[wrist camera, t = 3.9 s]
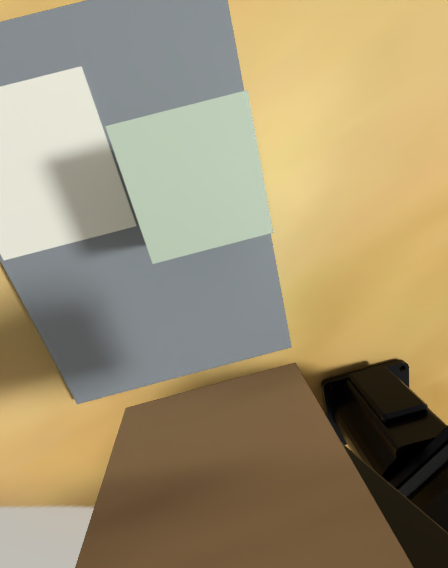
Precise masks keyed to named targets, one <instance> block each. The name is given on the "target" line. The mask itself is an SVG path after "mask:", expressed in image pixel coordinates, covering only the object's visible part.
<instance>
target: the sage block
mask: <svg viewBox="0 0 448 568" xmlns="http://www.w3.org/2000/svg"><path fill="white" fill-rule="evenodd" d="M105 127H106V130H107V133H108V136H109V139H110V141H111V144H112V147H113V150H114V153H115V156H116V159H117V162H118V165H119V168H120V171H121V173H122V176H123V179H124V182H125V185H126V188H127V191H128V194H129V197H130V200H131V203H132V206H133V208H134V211H135V214H136V217H137V220H138V223H139V226H140V229H141V232H142V235H143V238H144V241H145V243H146V246H147V249H148V252H149V255H150V258H151V261H152V264H155V263H159V262H162V261H166V260H170V259H174V258H178V257H182V256H185V255H189V254H193V253H197V252H201V251H205V250H209V249H212V248H216V247H220V246H224V245H228V244H232V243H235V242H239V241H243V240H247V239H251V238H255V237H258V236H262V235H266V234H270V233H273V228H272V223H271V217H270V212H269V206H268V201H267V195H266V190H265V184H264V179H263V173H262V168H261V162H260V157H259V151H258V146H257V140H256V135H255V129H254V123H253V118H252V112H251V107H250V101H249V96H248V90H246V91H242V92H238V93H234V94H230V95H226V96H222V97H218V98H214V99H210V100H206V101H203V102H199V103H195V104H191V105H187V106H183V107H179V108H175V109H171V110H167V111H163V112H159V113H155V114H151V115H147V116H144V117H140V118H136V119H132V120H128V121H124V122H120V123H116V124H112V125H108V126H105Z"/></svg>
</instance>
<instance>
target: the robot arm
mask: <svg viewBox="0 0 448 568" xmlns="http://www.w3.org/2000/svg"><path fill="white" fill-rule="evenodd" d="M329 385H330V386H329ZM328 386H329V387H328ZM321 388H322V395H323V401H324V408H325V414H326V417H327V419H328V420H329V422H330V424H331V426H332V427H333V429H334V431H335V433H336V434H337V436H338V438H339V439H340V441H341V443H342V445H343V446H344V448H345V450H346V452H347V453H348V455H349V457H350V459H351V460H352V462H353V464H354V465H355V467H356V469H357V471H358V472H359V474H360V476H361V478H362V479H363V481H364V483H365V484H366V486H367V488H368V490H369V491H370V493H371V495H372V497H373V498H374V500H375V502H376V504H377V505H378V507H379V509H380V510H381V512H382V514H383V516H384V517H385V519H386V521H387V523H388V524H389V526H390V528H391V530H392V531H393V533H394V535H395V536H396V538H397V540H398V542H399V543H400V545H401V547H402V549H403V550H404V552H405V554H406V556H407V557H408V559H409V561H410V562H411V564H412V566H413V568H448V426H447V425H446V424H445V423H444V422H443V421H442V420H441V419H440V418H438V417H437V416H436V415H435V414H434V413H433V412H432V411H431V410H430V409H429V408H428V406H427V404H426V403H425V402H424V401H423V400H421V399H420V398H419V397H418V396H417V395H416V394H415V393H414V392H413V391H412V390H411V389H410V388H409V366H408V364H407V363H406V362H404V361H403V360H396V361H392V362H388V363H385V364H381V365H377V366H373V367H370V368H366V369H362V370H358V371H355V372H351V373H347V374H344V375H340V376H336V377H332V378H329V379H326V380H324V381H323V382H322V384H321ZM346 444H348V446H349V448H350V449H351V450H350V449H348V448H347V447H346V446H345V445H346Z"/></svg>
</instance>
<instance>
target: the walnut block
mask: <svg viewBox="0 0 448 568" xmlns="http://www.w3.org/2000/svg"><path fill="white" fill-rule="evenodd" d="M75 568H413V566H412V564H411V562H410V561H409V559H408V557H407V556H406V554H405V552H404V550H403V549H402V547H401V545H400V543H399V542H398V540H397V538H396V536H395V535H394V533H393V531H392V530H391V528H390V526H389V524H388V523H387V521H386V519H385V517H384V516H383V514H382V512H381V510H380V509H379V507H378V505H377V504H376V502H375V500H374V498H373V497H372V495H371V493H370V491H369V490H368V488H367V486H366V484H365V483H364V481H363V479H362V478H361V476H360V474H359V472H358V471H357V469H356V467H355V465H354V464H353V462H352V460H351V459H350V457H349V455H348V453H347V452H346V450H345V448H344V446H343V445H342V443H341V441H340V439H339V438H338V436H337V434H336V433H335V431H334V429H333V427H332V426H331V424H330V422H329V420H328V419H327V417H326V415H325V413H324V412H323V410H322V408H321V407H320V405H319V403H318V401H317V400H316V398H315V396H314V394H313V393H312V391H311V389H310V387H309V386H308V384H307V382H306V381H305V379H304V377H303V375H302V374H301V372H300V370H299V368H298V367H297V365H296V363H292V364H288V365H284V366H280V367H277V368H273V369H269V370H266V371H262V372H258V373H254V374H251V375H247V376H243V377H239V378H236V379H232V380H228V381H225V382H221V383H217V384H213V385H210V386H206V387H202V388H198V389H195V390H191V391H187V392H184V393H180V394H176V395H172V396H169V397H165V398H161V399H157V400H154V401H150V402H146V403H143V404H139V405H135V406H131V407H128V408H126V409H125V412H124V415H123V419H122V422H121V425H120V428H119V431H118V434H117V438H116V441H115V444H114V447H113V450H112V453H111V456H110V460H109V463H108V466H107V469H106V472H105V475H104V479H103V482H102V485H101V488H100V491H99V494H98V497H97V501H96V504H95V507H94V510H93V513H92V517H91V520H90V523H89V526H88V530H87V532H86V535H85V539H84V542H83V545H82V548H81V551H80V554H79V557H78V561H77V564H76V567H75Z"/></svg>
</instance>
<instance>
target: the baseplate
mask: <svg viewBox="0 0 448 568" xmlns="http://www.w3.org/2000/svg"><path fill="white" fill-rule="evenodd" d="M242 91H244V87H243V82H242V76H241V71H240V65H239V60H238V54H237V49H236V44H235V38H234V33H233V27H232V22H231V16H230V11H229V6H228V0H86V1H82V2H78V3H74V4H70V5H66V6H62V7H58V8H54V9H50V10H46V11H42V12H38V13H34V14H30V15H26V16H22V17H18V18H14V19H10V20H6V21H2V22H0V261H1V263H2V265H3V267H4V269H5V271H6V273H7V275H8V276H9V278H10V280H11V282H12V284H13V286H14V288H15V289H16V291H17V293H18V295H19V297H20V299H21V301H22V302H23V304H24V306H25V308H26V310H27V312H28V314H29V316H30V317H31V319H32V321H33V323H34V325H35V327H36V329H37V330H38V332H39V334H40V336H41V338H42V340H43V342H44V343H45V345H46V347H47V349H48V351H49V353H50V355H51V357H52V358H53V360H54V362H55V364H56V366H57V368H58V370H59V371H60V373H61V375H62V377H63V379H64V381H65V383H66V385H67V386H68V388H69V390H70V392H71V394H72V396H73V398H74V399H75V401H76V403H77V404H79V403H83V402H87V401H91V400H95V399H98V398H102V397H106V396H110V395H113V394H117V393H121V392H125V391H128V390H132V389H136V388H140V387H143V386H147V385H151V384H155V383H159V382H162V381H166V380H170V379H174V378H177V377H181V376H185V375H189V374H192V373H196V372H200V371H204V370H208V369H211V368H215V367H219V366H223V365H226V364H230V363H234V362H238V361H241V360H245V359H249V358H253V357H256V356H260V355H264V354H268V353H272V352H275V351H279V350H283V349H287V348H290V347H291V342H290V336H289V331H288V325H287V320H286V315H285V309H284V304H283V298H282V293H281V287H280V282H279V277H278V271H277V266H276V260H275V255H274V250H273V244H272V239H271V233H270V234H266V235H262V236H258V237H255V238H251V239H247V240H243V241H239V242H235V243H232V244H228V245H224V246H220V247H216V248H212V249H209V250H205V251H201V252H197V253H193V254H189V255H185V256H182V257H178V258H174V259H170V260H166V261H162V262H159V263H155V264H152V261H151V258H150V255H149V252H148V249H147V246H146V243H145V241H144V238H143V235H142V232H141V229H140V226H139V223H138V220H137V217H136V214H135V211H134V208H133V206H132V203H131V200H130V197H129V194H128V191H127V188H126V185H125V182H124V179H123V176H122V173H121V171H120V168H119V165H118V162H117V159H116V156H115V153H114V150H113V147H112V144H111V141H110V139H109V136H108V133H107V130H106V127H105V126H108V125H112V124H116V123H120V122H124V121H128V120H132V119H136V118H140V117H144V116H147V115H151V114H155V113H159V112H163V111H167V110H171V109H175V108H179V107H183V106H187V105H191V104H195V103H199V102H203V101H206V100H210V99H214V98H218V97H222V96H226V95H230V94H234V93H238V92H242Z"/></svg>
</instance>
